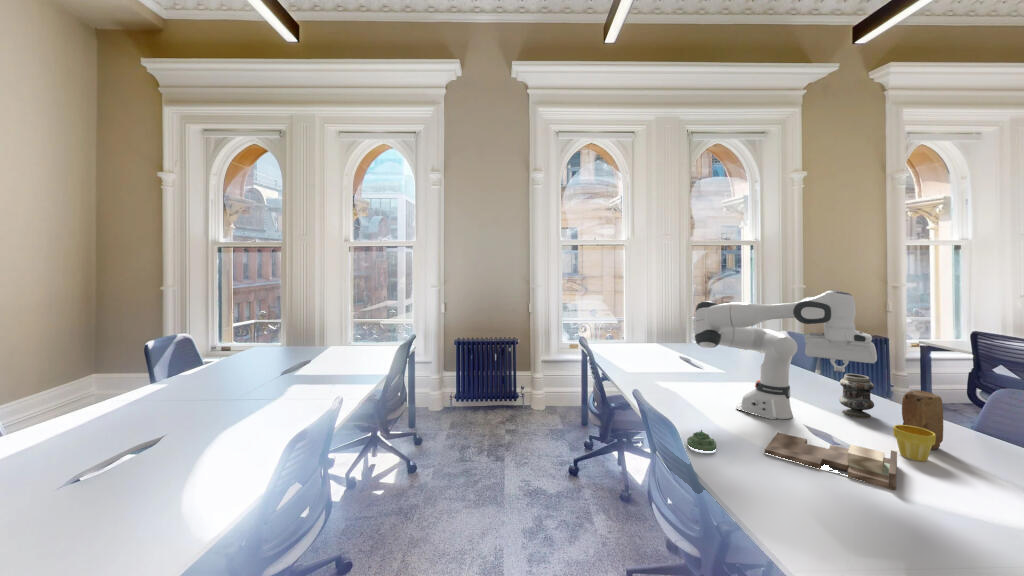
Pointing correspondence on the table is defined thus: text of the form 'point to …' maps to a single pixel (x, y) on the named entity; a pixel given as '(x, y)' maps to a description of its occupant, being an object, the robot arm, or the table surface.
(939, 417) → the block
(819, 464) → the box
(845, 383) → the apothecary jar
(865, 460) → the maple block
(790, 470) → the table surface
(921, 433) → the plant pot
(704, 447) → the decorative artifact
